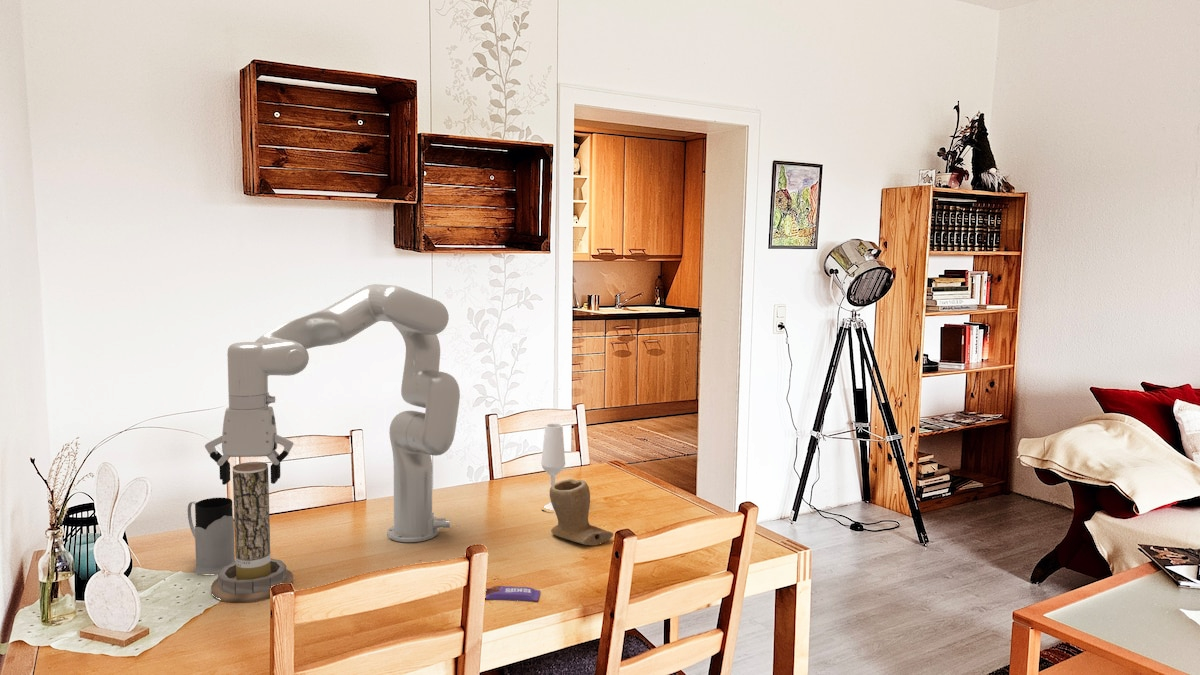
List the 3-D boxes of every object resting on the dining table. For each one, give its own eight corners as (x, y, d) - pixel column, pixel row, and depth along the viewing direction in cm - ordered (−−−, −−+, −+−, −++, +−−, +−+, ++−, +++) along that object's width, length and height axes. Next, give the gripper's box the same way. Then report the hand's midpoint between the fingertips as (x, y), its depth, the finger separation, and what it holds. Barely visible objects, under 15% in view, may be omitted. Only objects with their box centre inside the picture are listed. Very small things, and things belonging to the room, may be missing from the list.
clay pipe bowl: (539, 537, 205) (540, 479, 203) (573, 526, 213) (574, 471, 211) (580, 554, 194) (581, 493, 192) (614, 542, 202) (616, 484, 201)
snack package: (540, 586, 172) (537, 596, 167) (540, 594, 172) (537, 605, 167) (486, 583, 172) (482, 594, 167) (486, 592, 173) (482, 602, 168)
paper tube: (258, 588, 167) (254, 472, 164) (229, 585, 169) (225, 469, 166) (277, 575, 174) (274, 463, 171) (249, 572, 175) (246, 460, 172)
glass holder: (208, 578, 175) (206, 511, 173) (171, 563, 182) (169, 499, 180) (245, 565, 182) (243, 501, 180) (208, 551, 189) (206, 490, 188)
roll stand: (300, 570, 180) (300, 554, 180) (283, 601, 165) (283, 583, 164) (225, 572, 178) (224, 556, 177) (200, 604, 162) (199, 586, 162)
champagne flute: (568, 508, 228) (570, 425, 225) (555, 514, 222) (556, 429, 219) (549, 503, 231) (551, 421, 228) (535, 509, 225) (537, 425, 223)
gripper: (296, 398, 172) (297, 476, 174) (210, 398, 169) (212, 478, 171) (288, 405, 164) (289, 486, 166) (198, 405, 162) (200, 488, 164)
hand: (250, 482), depth 169 cm, fingers open, 9 cm apart
